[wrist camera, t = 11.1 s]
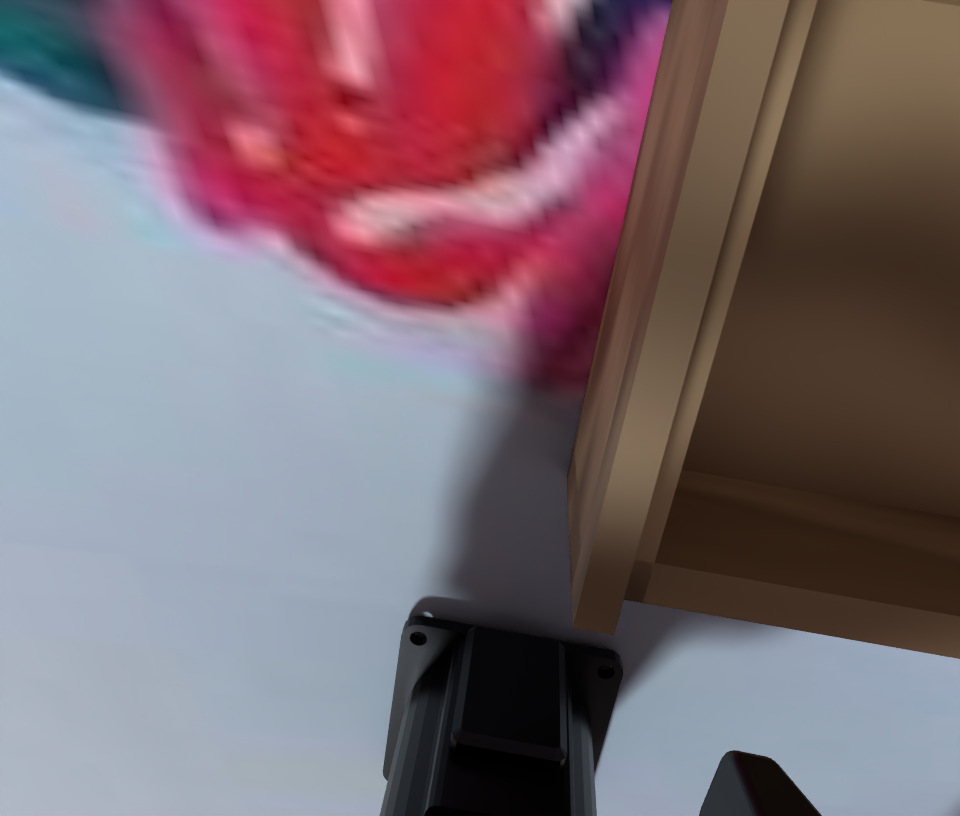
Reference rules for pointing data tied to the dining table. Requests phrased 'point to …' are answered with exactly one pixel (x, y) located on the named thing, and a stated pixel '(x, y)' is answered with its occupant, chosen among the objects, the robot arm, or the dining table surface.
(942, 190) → the walnut box
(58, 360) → the dining table surface
